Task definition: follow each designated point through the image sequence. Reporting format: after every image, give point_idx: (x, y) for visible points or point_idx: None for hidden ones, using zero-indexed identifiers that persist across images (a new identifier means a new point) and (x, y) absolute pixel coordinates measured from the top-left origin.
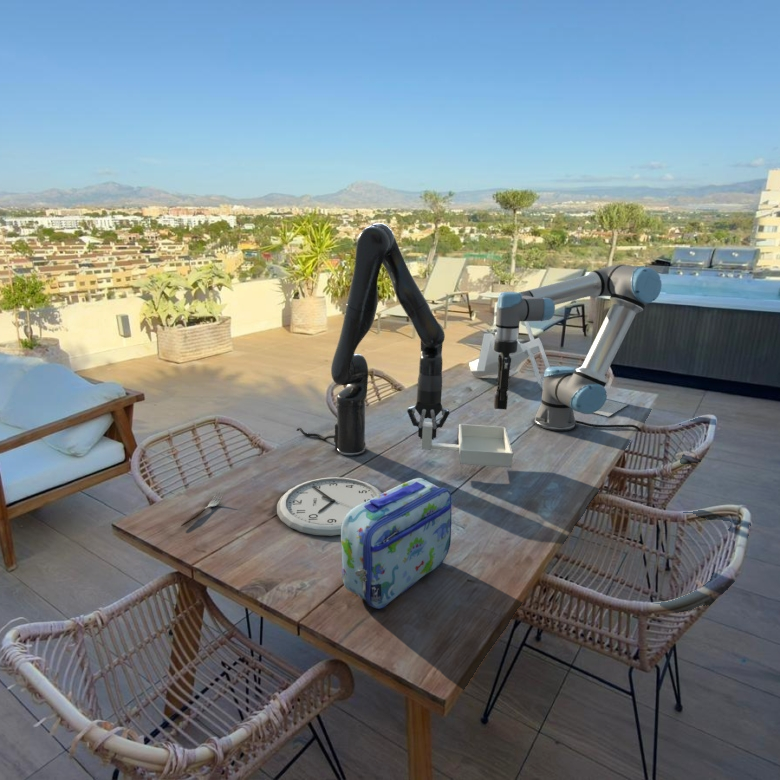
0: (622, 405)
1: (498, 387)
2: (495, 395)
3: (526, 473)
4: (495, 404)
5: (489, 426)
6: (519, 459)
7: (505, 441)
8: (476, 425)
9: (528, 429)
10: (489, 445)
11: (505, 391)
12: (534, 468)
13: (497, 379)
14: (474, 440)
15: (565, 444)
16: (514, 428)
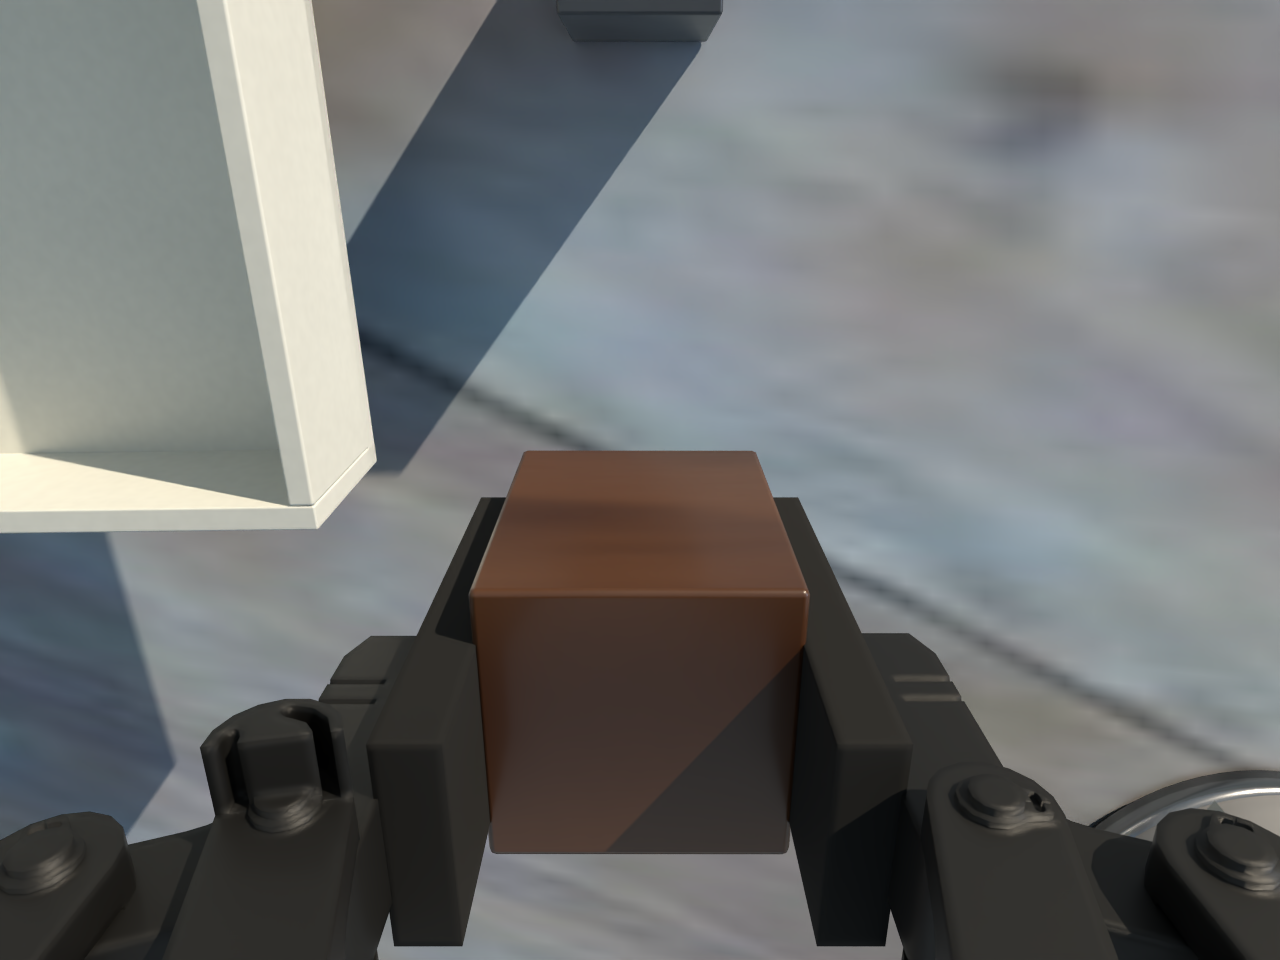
0: None
1: (825, 751)
2: (577, 568)
3: (79, 570)
4: (512, 492)
5: (253, 303)
6: (352, 546)
7: (25, 480)
8: (218, 77)
9: (1089, 697)
10: (63, 273)
11: (396, 902)
12: (203, 640)
13: (1276, 884)
14: (147, 68)
15: (752, 912)
16: (1121, 579)
